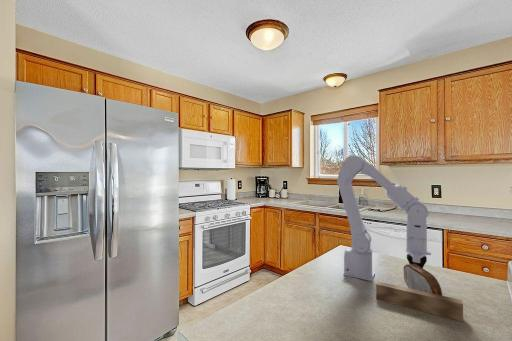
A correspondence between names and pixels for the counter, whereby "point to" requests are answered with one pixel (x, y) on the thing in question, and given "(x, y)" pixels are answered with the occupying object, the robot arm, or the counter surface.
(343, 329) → the counter surface
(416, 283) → the tin
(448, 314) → the walnut board
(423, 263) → the robot arm
